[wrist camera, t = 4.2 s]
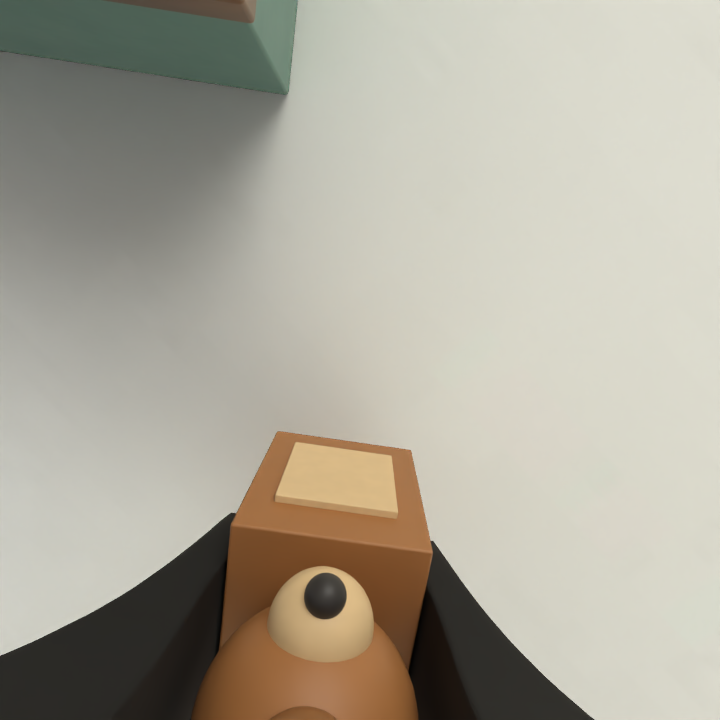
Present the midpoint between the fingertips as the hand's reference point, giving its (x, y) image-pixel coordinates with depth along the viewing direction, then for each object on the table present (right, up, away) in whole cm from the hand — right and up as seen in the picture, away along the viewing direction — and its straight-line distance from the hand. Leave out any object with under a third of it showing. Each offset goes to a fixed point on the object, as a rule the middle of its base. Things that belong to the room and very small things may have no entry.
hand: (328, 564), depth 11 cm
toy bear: (0, 0, +2) cm, 2 cm away
